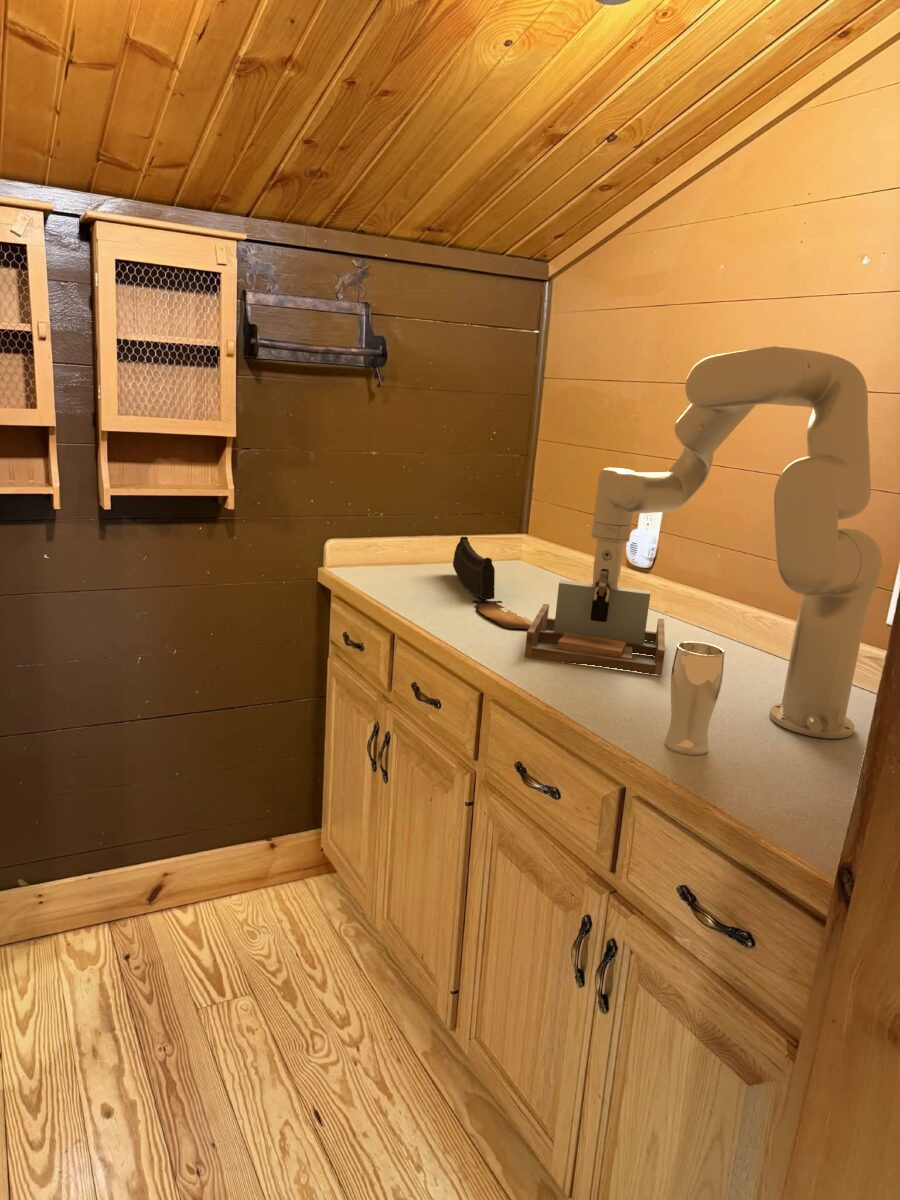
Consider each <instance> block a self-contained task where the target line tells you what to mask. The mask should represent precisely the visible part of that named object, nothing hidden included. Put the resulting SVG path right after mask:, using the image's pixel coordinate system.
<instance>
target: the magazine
mask: <svg viewBox="0 0 900 1200" xmlns="http://www.w3.org/2000/svg"><path fill="white" fill-rule="evenodd" d="M452 567H453V569H454V571H455V574H456V575H457V577H458V579H459V581H460V583H461V584H462V585H463V587H464V588H465V589H466V590H467V591H468V592H469V593H470V594H473V596H476V597H479V598H480V599H481V600H493V599H495V582H496V581H495V577H496V576H495V571H496V569H495V567H494V565H493V559H492V558H490V557H485V558H484V557H483V556H481V555H479V554H478V553H477V552H476V551H475V550H474V548H473V547H472V545H471V543H470V542H469V538H468V536H460V539H459V542H458V543H457V545H456V547H455V550H454V554H453V561H452Z"/></svg>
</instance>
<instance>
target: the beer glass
mask: <svg viewBox="0 0 900 1200" xmlns="http://www.w3.org/2000/svg"><path fill="white" fill-rule="evenodd" d="M725 654H726V651H725V650H724V649H722V648H721V647H719V646H716V645H714V644H710V643H707V642H706V643H705V642H698V641H681V642H679V643H677V645H676V650H675V653H674V659H673V661H672V662H673V664H672V668H671V675H670V712H671V713H670V722H669V727H668V730H667V733H666V736H665V739H664V745H665V747H667V748H668V749H670V750H671V751H673V752H675V753H679V754H681V755H687V756H701V755H705V754H706V753H707V752H708V749H709V740H708V738H709V736H708V734H709V732H708V731H709V727H710V726H709V725H710V721H711V718H712V715H713V712H714V710H715V708H716V705H717V703H718V698H719V696H720V692H721V690H722V683H723V677H724V667H725Z"/></svg>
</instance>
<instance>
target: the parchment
mask: <svg viewBox="0 0 900 1200" xmlns="http://www.w3.org/2000/svg"><path fill="white" fill-rule="evenodd" d="M471 603H473V604H476V605H475V606H474V608H475V612H477V611H478V612H479V613H481V614H482V615H483V616H484V617H485V618H489V619H490V620H491V621H494V622H496V623H497V624H499V625H501V626H503V627H504V628H505V629H507V630H510V629H520V630H521V629H524V630H527V631H528V630H529V628H530V626H531V625H532V623H533V621H531V620H530V619H529V618H527V617H525V616H524V617H521V616H517V614H516V613H517V612H514V611H510V610H509V611H507V612H504V611H502V610H503V609H502V608H506V607H505V606H502V604H503V601H502V600H487V599H481V600H476V599H475V600H472V601H471ZM500 604H501V605H500ZM500 608H501V609H500ZM513 612H514V613H513Z"/></svg>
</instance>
